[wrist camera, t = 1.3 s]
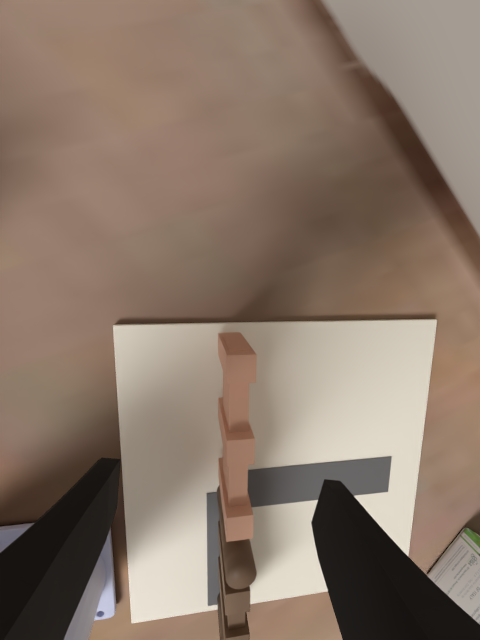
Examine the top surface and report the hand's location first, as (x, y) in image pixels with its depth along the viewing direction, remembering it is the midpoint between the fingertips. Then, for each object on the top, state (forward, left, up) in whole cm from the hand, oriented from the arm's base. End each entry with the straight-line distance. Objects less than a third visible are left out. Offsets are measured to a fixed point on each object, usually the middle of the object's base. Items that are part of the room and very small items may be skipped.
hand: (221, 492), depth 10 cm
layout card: (+5, -7, -10) cm, 13 cm away
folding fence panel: (+1, -1, -9) cm, 9 cm away
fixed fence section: (+1, -12, -9) cm, 15 cm away
